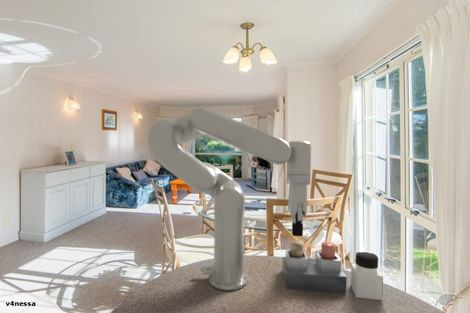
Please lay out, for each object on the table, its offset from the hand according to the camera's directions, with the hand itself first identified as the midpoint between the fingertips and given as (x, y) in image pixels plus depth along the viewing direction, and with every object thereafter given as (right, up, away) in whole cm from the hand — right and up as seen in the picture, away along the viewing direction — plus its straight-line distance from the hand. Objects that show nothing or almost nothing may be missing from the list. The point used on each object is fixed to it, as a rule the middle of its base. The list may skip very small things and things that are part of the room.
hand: (297, 235), depth 86 cm
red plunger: (+10, -7, -1) cm, 12 cm away
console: (+5, -15, 0) cm, 16 cm away
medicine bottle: (+19, -16, -6) cm, 26 cm away
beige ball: (0, -7, 0) cm, 7 cm away
